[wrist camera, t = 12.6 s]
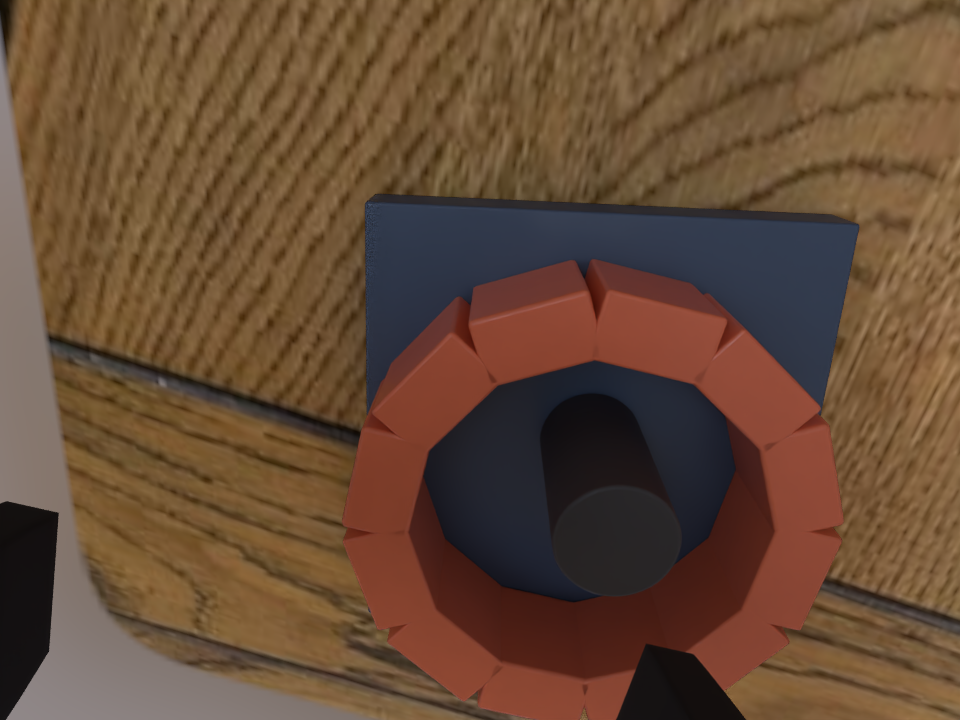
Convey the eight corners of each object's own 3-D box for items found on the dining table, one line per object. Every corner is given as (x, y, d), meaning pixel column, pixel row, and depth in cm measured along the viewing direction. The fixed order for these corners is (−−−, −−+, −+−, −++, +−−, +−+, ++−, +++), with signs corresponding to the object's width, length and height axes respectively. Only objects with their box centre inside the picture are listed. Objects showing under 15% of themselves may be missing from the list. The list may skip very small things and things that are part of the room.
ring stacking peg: (376, 581, 18) (332, 754, 13) (374, 193, 15) (317, 240, 10) (758, 600, 18) (851, 781, 13) (833, 214, 15) (988, 270, 10)
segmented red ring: (334, 594, 17) (308, 673, 14) (418, 213, 14) (402, 237, 12) (706, 677, 17) (738, 765, 15) (859, 324, 14) (925, 368, 12)
